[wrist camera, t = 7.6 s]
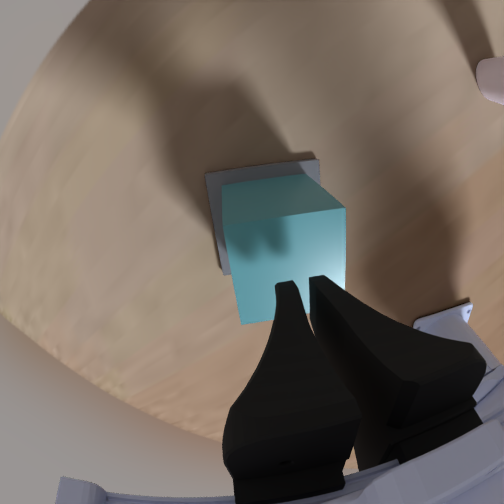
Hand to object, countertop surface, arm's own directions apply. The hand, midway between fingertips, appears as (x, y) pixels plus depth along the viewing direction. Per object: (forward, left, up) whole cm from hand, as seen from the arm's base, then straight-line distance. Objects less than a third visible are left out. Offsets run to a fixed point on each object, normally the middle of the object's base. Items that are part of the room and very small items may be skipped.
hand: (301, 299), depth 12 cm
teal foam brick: (0, 0, -9) cm, 9 cm away
